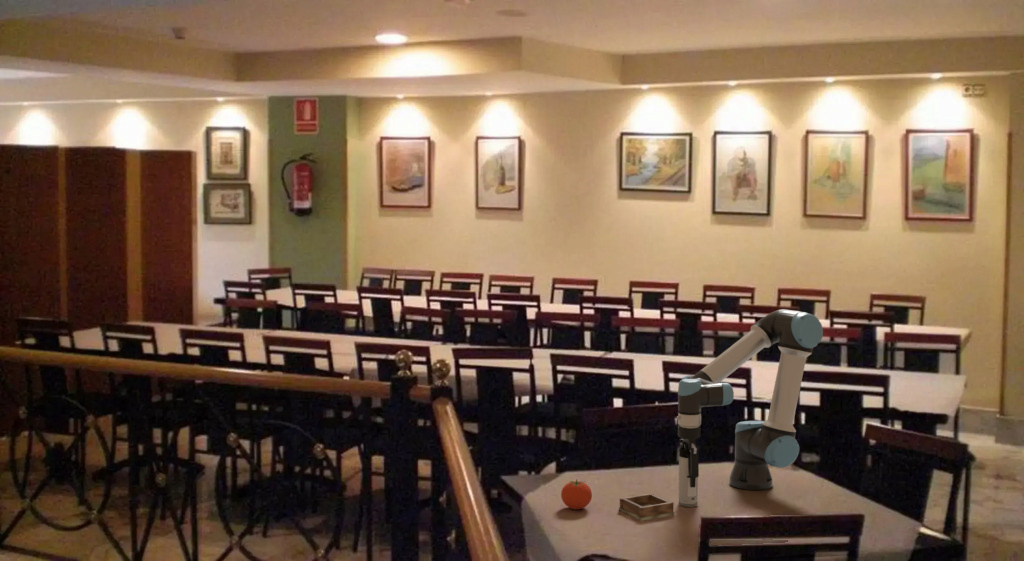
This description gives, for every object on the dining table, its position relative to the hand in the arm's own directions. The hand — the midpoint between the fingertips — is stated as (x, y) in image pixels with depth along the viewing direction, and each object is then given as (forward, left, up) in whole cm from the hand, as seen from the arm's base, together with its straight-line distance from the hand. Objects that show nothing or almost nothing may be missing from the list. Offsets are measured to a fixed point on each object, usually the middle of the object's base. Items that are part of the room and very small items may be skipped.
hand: (688, 493), depth 351 cm
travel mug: (0, 0, -4) cm, 4 cm away
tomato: (+38, -1, -4) cm, 38 cm away
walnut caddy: (+16, +6, -4) cm, 18 cm away
